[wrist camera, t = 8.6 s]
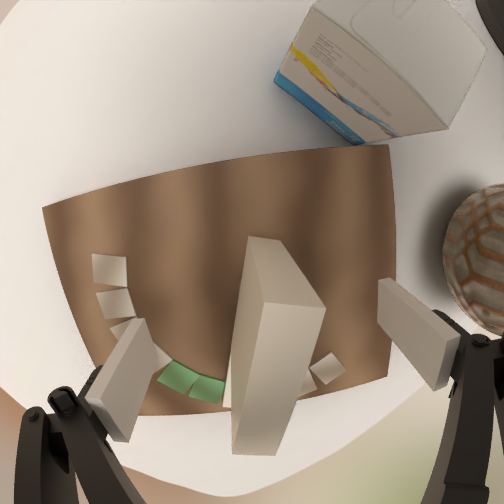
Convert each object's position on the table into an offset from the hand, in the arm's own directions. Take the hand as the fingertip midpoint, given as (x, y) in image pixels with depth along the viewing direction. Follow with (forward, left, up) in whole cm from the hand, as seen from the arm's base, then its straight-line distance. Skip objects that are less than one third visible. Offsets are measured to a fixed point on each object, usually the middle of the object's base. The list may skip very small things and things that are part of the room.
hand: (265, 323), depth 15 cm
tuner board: (+2, +2, -8) cm, 9 cm away
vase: (-22, +1, -9) cm, 24 cm away
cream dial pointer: (+2, +4, -6) cm, 7 cm away
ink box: (-10, -15, -9) cm, 20 cm away
